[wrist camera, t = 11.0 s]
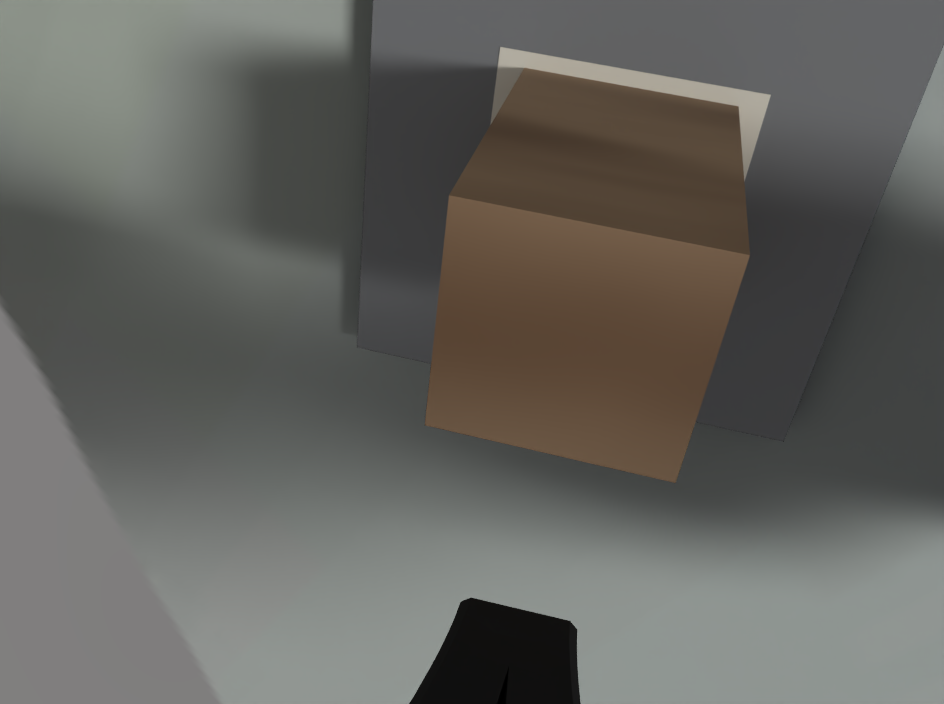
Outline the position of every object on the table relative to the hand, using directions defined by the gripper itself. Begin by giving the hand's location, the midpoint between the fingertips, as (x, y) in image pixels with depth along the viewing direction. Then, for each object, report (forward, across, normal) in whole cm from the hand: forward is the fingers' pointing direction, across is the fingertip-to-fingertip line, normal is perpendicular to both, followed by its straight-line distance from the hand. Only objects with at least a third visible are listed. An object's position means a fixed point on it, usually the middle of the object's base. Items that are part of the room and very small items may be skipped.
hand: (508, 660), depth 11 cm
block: (+10, 0, -2) cm, 10 cm away
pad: (+10, 0, -2) cm, 11 cm away
